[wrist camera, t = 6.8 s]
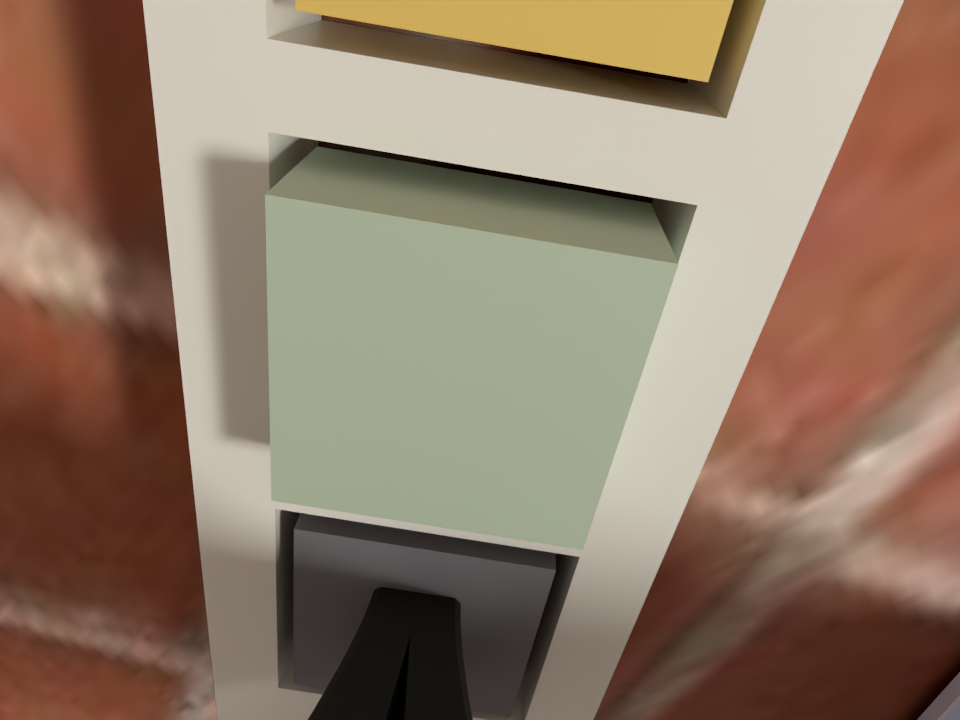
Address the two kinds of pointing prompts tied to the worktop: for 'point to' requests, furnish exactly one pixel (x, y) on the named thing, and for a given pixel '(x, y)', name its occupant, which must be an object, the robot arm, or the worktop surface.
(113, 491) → the worktop surface
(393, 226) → the sage button
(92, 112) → the worktop surface
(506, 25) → the ochre button
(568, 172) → the button panel
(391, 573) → the charcoal button
